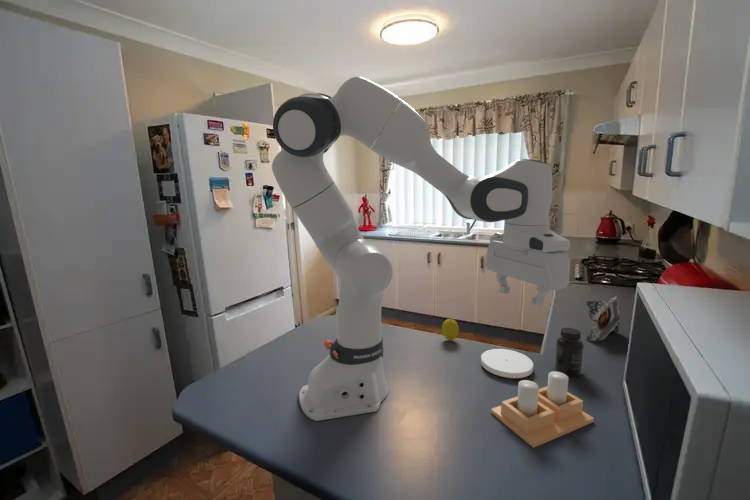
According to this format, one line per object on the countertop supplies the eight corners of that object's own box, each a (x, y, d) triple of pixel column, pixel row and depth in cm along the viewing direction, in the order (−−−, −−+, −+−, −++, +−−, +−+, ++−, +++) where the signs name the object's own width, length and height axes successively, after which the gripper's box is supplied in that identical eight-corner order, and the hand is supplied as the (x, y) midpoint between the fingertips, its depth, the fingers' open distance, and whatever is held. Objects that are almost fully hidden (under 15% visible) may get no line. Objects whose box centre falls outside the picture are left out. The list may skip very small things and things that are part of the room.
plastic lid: (540, 367, 100) (541, 359, 99) (520, 387, 90) (521, 379, 89) (494, 351, 109) (494, 344, 109) (471, 368, 100) (472, 360, 99)
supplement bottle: (580, 367, 99) (584, 328, 96) (583, 379, 93) (587, 337, 90) (553, 362, 102) (556, 324, 99) (554, 374, 95) (557, 333, 93)
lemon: (458, 345, 114) (459, 322, 112) (441, 343, 115) (442, 320, 113) (458, 337, 119) (458, 315, 118) (441, 336, 120) (442, 314, 119)
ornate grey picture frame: (605, 329, 124) (609, 294, 122) (618, 333, 121) (623, 297, 118) (581, 338, 117) (585, 301, 115) (594, 343, 113) (599, 305, 111)
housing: (533, 447, 69) (536, 407, 67) (490, 412, 80) (492, 376, 78) (593, 422, 76) (597, 384, 75) (546, 393, 87) (549, 359, 85)
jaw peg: (527, 426, 74) (529, 392, 72) (512, 415, 77) (514, 383, 76) (540, 420, 75) (542, 387, 74) (525, 410, 79) (527, 378, 77)
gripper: (481, 231, 83) (477, 287, 85) (554, 245, 64) (547, 315, 67) (501, 230, 85) (497, 285, 88) (578, 243, 67) (570, 311, 69)
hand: (519, 298), depth 77 cm, fingers open, 8 cm apart
